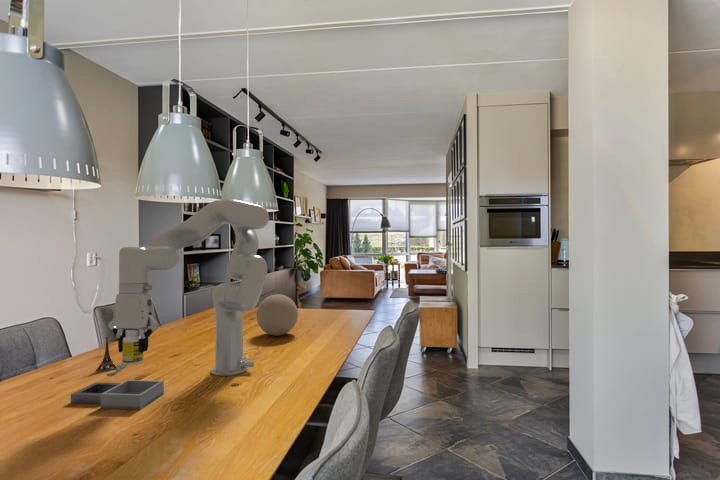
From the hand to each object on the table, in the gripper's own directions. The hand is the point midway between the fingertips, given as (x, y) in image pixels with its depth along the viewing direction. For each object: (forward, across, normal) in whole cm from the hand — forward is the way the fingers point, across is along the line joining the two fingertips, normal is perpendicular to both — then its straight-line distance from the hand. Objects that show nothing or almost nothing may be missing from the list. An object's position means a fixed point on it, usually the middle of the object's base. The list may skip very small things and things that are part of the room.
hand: (133, 350), depth 119 cm
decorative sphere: (+14, -19, -84) cm, 88 cm away
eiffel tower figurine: (+15, +27, -27) cm, 41 cm away
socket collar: (+15, +12, -2) cm, 19 cm away
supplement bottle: (+4, 0, 0) cm, 4 cm away
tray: (+15, 0, 0) cm, 15 cm away
